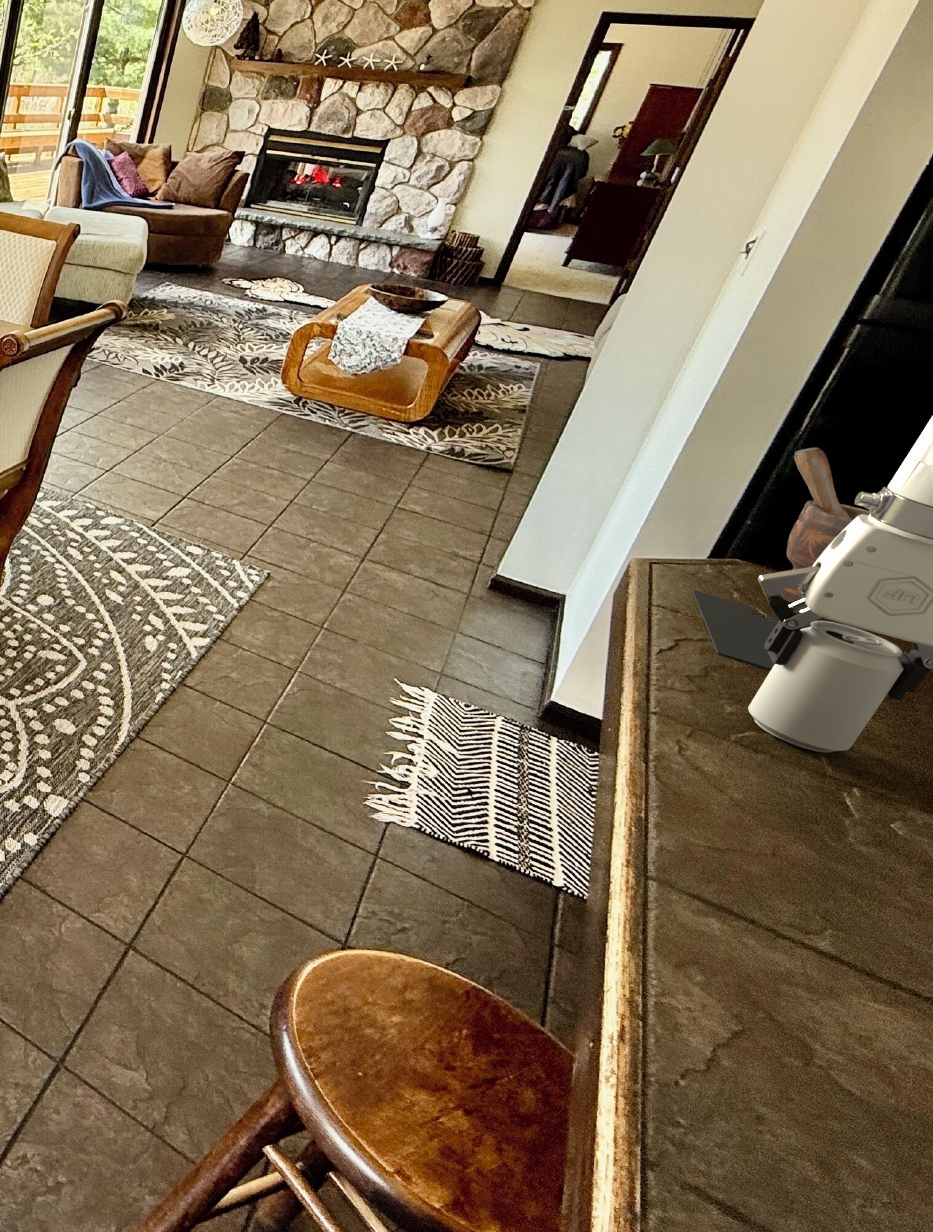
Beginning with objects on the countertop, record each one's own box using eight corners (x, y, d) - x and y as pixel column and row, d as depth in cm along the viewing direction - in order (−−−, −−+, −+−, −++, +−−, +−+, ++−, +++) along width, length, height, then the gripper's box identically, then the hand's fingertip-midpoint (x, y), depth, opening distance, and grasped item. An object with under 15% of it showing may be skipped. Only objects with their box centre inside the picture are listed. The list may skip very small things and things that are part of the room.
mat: (816, 625, 117) (817, 624, 117) (861, 697, 103) (862, 696, 102) (691, 591, 124) (692, 589, 124) (717, 653, 109) (718, 652, 109)
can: (734, 702, 100) (792, 607, 95) (830, 731, 96) (895, 634, 91) (755, 736, 94) (818, 636, 89) (858, 768, 90) (929, 666, 86)
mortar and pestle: (731, 590, 125) (810, 456, 117) (722, 568, 131) (796, 440, 123) (853, 624, 118) (945, 485, 110) (837, 599, 125) (923, 466, 117)
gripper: (814, 503, 87) (721, 656, 94) (1102, 568, 78) (974, 732, 85) (794, 480, 92) (708, 627, 100) (1060, 538, 83) (944, 695, 90)
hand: (831, 674), depth 92 cm, fingers closed on can, 7 cm apart
